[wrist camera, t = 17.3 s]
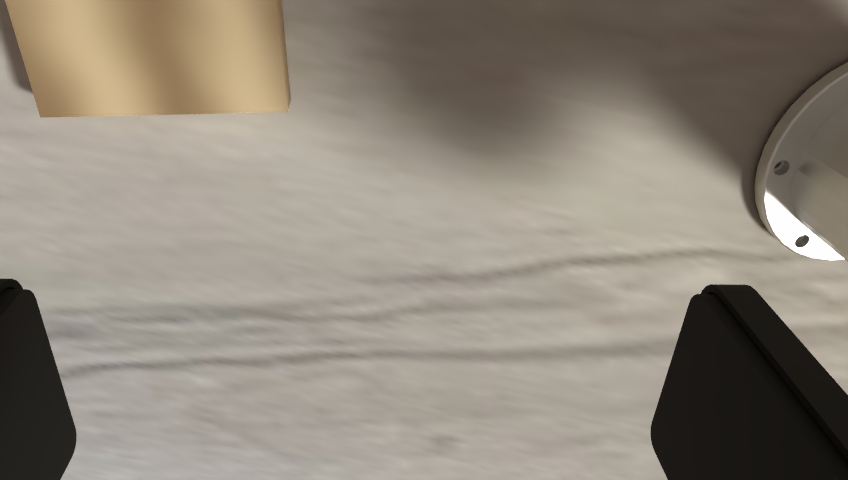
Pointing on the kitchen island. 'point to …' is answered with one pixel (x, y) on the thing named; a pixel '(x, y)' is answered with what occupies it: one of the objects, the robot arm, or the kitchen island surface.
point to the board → (153, 56)
